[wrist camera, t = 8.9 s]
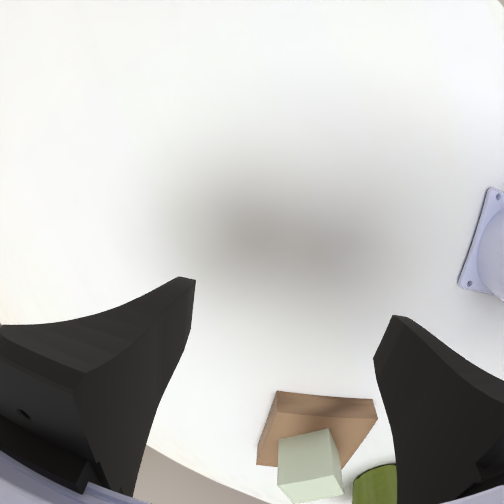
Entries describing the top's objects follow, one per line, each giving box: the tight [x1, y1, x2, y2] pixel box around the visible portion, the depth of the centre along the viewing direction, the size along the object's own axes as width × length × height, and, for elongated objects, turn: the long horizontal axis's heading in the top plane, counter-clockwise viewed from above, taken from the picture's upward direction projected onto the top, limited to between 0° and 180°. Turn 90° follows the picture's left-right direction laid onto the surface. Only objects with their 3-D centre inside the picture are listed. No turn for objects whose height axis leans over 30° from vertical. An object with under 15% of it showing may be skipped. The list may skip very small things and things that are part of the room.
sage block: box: [277, 428, 344, 504], centre depth 22 cm, size 4×4×5 cm
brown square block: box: [256, 391, 378, 470], centre depth 26 cm, size 9×9×3 cm
